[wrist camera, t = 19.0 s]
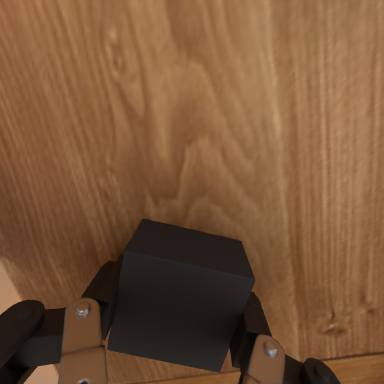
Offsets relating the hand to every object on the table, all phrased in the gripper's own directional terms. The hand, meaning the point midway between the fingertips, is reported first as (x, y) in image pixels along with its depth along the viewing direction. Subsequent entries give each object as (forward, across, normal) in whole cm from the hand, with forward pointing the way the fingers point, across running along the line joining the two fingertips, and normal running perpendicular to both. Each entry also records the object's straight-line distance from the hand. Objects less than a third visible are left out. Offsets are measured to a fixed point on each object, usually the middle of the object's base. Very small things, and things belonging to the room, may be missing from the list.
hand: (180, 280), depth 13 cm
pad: (+1, 0, 0) cm, 1 cm away
